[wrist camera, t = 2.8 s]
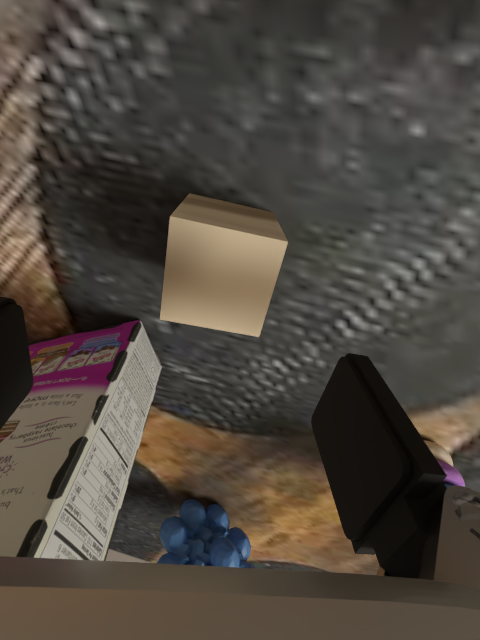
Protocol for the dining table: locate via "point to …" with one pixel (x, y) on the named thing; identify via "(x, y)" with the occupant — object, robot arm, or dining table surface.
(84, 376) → the candy bar box
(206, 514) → the grapes
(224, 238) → the beech block
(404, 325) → the dining table surface
